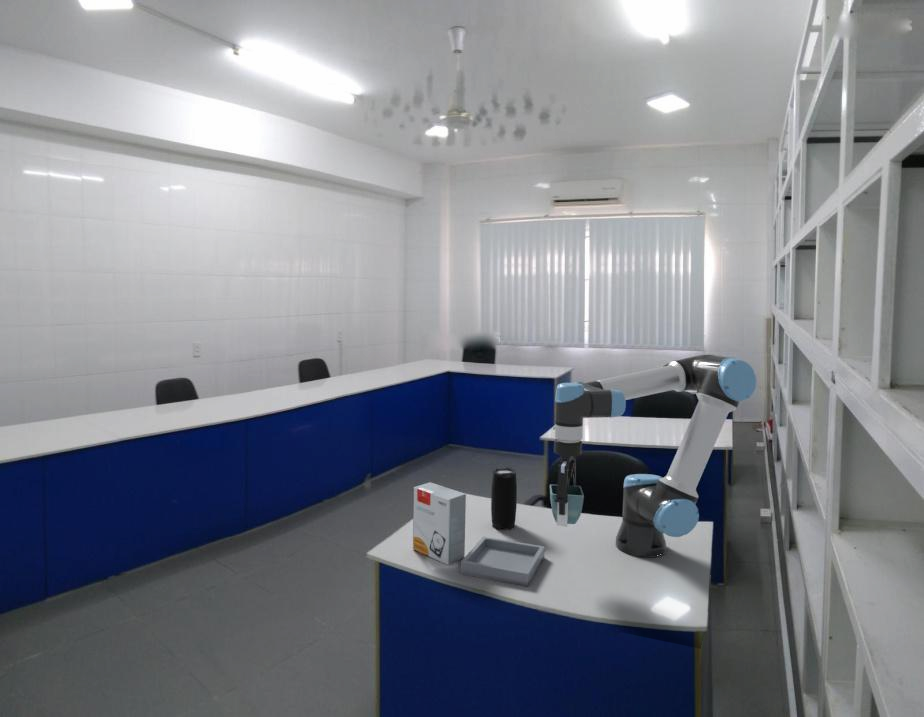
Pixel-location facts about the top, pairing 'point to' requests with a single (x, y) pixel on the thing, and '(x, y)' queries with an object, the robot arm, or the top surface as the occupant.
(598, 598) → the top surface
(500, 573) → the tray
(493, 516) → the portable speaker
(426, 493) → the hard drive box
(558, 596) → the top surface
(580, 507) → the flower pot
